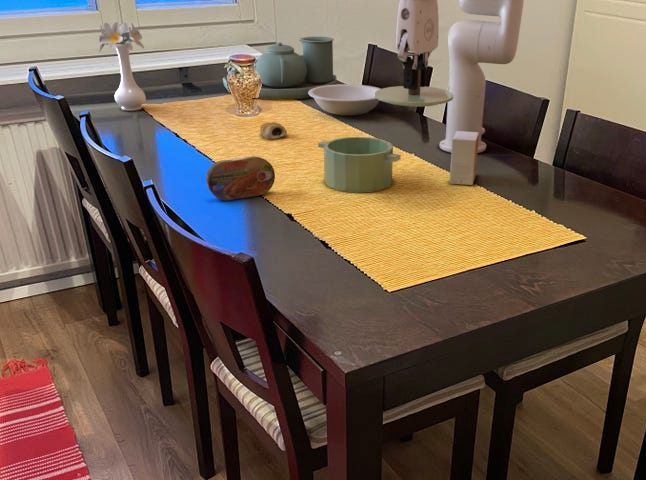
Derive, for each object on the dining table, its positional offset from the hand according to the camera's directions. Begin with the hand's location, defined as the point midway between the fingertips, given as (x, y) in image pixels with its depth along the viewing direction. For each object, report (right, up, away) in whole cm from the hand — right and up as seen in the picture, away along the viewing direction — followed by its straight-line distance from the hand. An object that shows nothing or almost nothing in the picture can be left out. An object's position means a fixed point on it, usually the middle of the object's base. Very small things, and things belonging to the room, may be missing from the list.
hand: (414, 86), depth 156 cm
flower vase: (-86, +22, +77) cm, 118 cm away
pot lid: (0, -2, +1) cm, 2 cm away
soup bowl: (-18, +19, +76) cm, 80 cm away
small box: (+12, -15, +21) cm, 29 cm away
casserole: (-12, -15, +19) cm, 27 cm away
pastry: (-38, +5, +52) cm, 65 cm away
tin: (-38, -21, +9) cm, 44 cm away
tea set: (-43, +38, +107) cm, 121 cm away
